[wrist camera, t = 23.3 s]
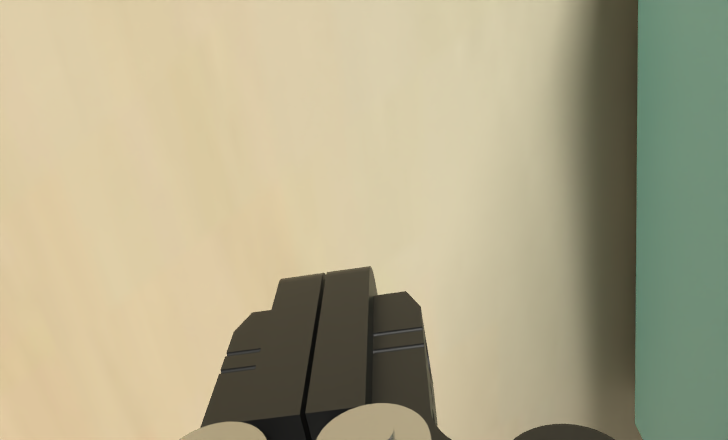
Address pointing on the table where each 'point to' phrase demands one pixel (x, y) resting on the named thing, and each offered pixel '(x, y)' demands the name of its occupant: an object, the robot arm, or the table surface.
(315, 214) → the table surface
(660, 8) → the tray
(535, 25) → the table surface
